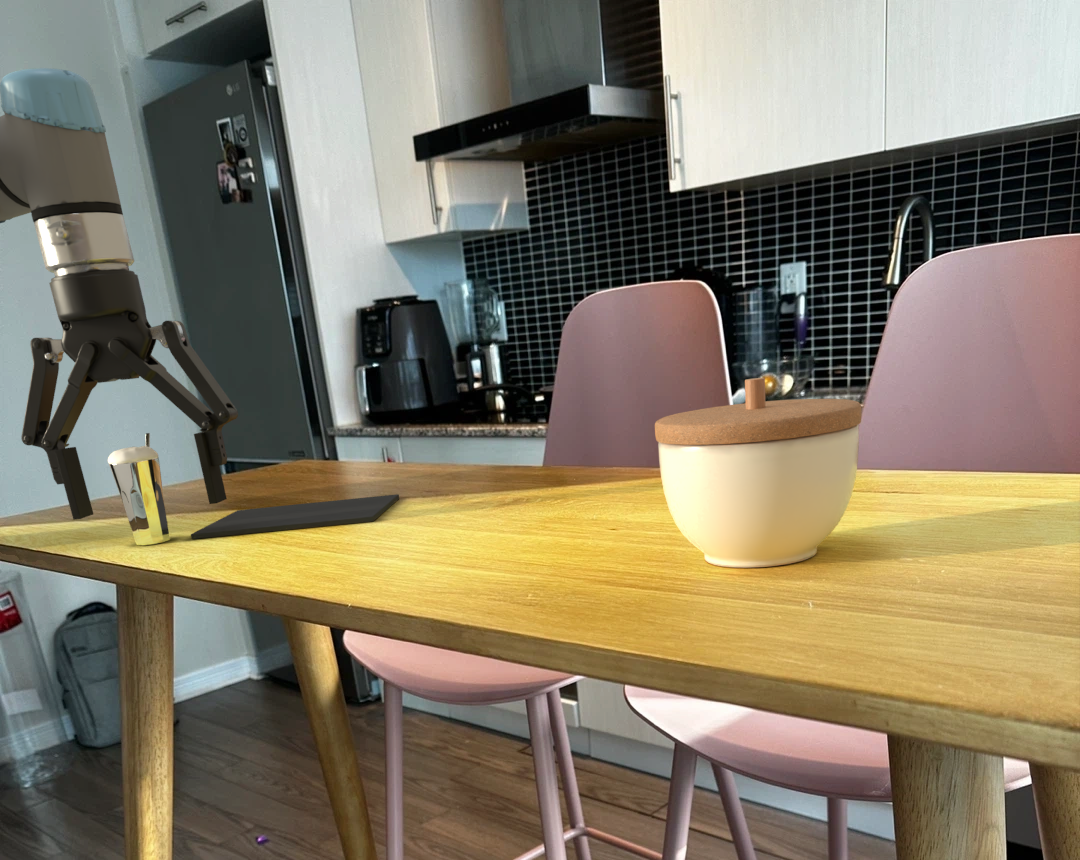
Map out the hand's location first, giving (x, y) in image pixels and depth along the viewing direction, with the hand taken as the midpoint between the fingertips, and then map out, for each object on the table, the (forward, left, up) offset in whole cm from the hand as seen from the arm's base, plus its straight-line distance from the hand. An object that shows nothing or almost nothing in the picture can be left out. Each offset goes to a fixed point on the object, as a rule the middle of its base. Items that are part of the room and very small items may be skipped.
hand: (150, 509), depth 99 cm
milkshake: (0, 0, -3) cm, 3 cm away
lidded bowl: (+54, -31, -3) cm, 62 cm away
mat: (+13, +6, -3) cm, 14 cm away
